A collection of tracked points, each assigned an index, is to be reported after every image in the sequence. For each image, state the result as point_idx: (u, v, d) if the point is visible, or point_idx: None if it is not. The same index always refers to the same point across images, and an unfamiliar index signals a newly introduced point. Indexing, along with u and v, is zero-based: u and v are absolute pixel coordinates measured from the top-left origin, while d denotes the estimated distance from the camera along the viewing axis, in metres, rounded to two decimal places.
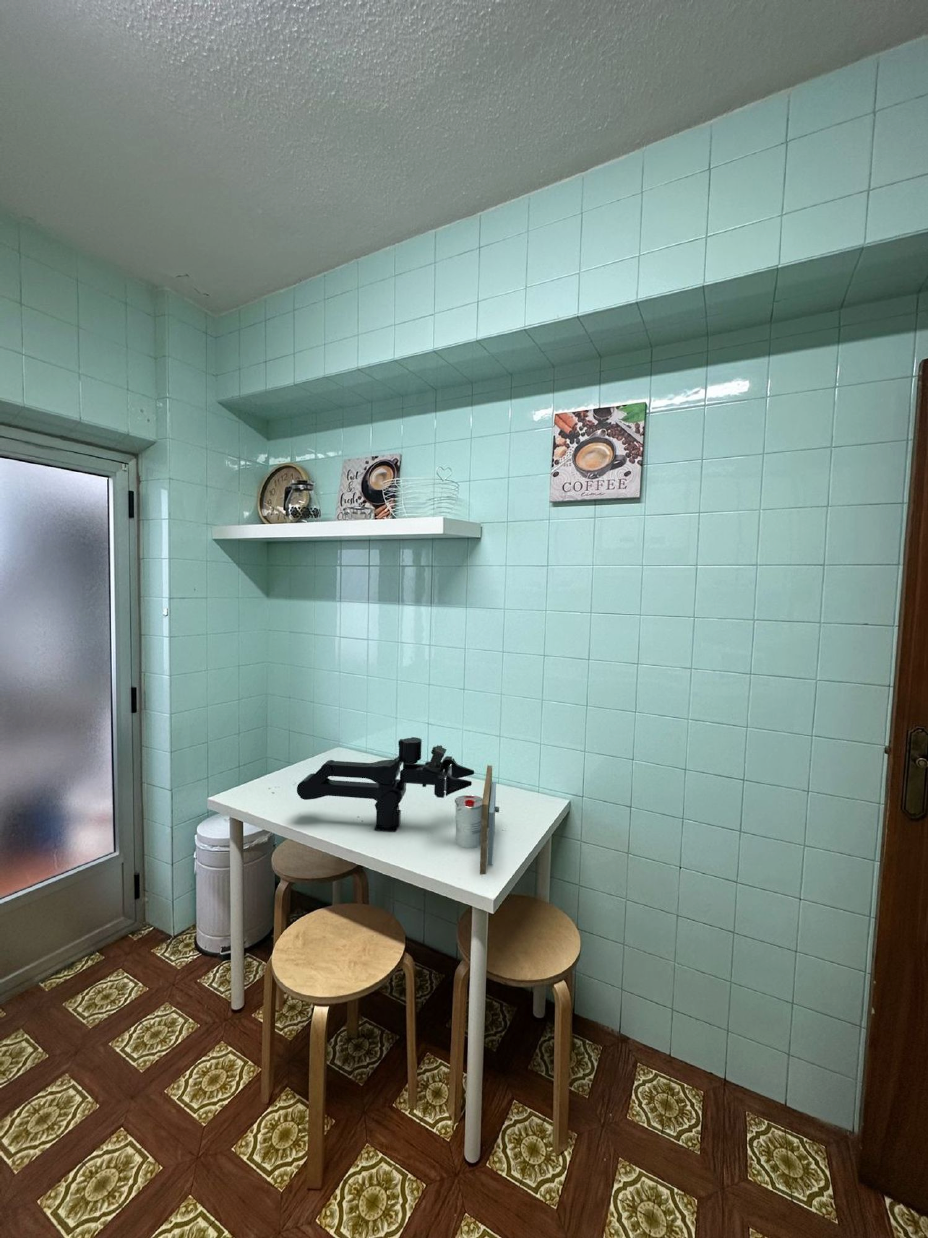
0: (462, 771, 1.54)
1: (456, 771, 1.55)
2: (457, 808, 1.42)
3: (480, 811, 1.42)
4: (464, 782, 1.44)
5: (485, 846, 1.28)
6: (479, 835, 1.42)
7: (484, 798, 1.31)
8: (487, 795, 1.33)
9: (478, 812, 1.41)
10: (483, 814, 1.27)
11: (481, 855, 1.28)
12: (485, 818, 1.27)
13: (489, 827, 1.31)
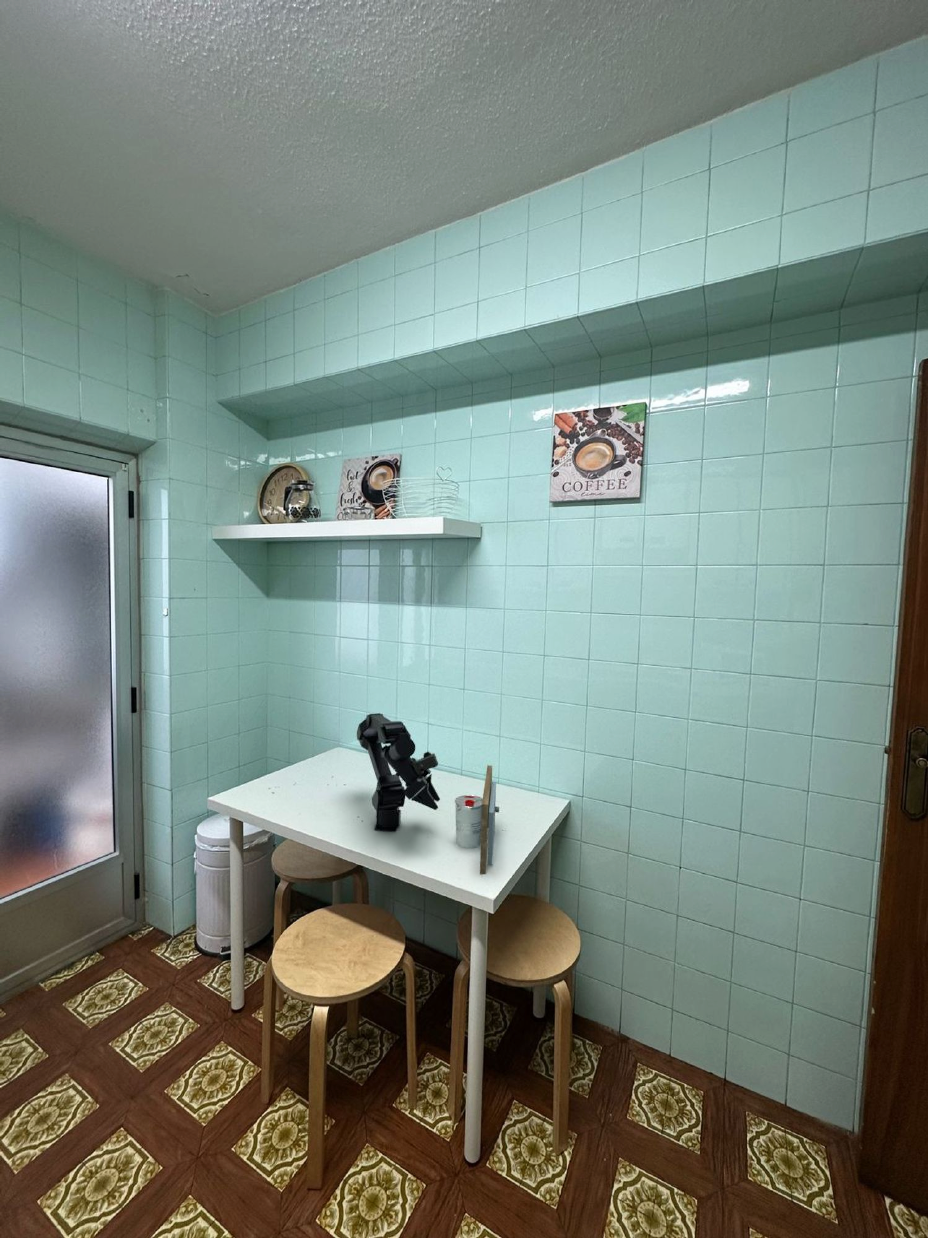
0: (431, 791, 1.50)
1: None
2: (457, 808, 1.42)
3: (480, 811, 1.42)
4: (433, 803, 1.40)
5: (485, 846, 1.28)
6: (479, 835, 1.42)
7: (484, 798, 1.31)
8: (487, 795, 1.33)
9: (478, 812, 1.41)
10: (483, 814, 1.27)
11: (481, 855, 1.28)
12: (485, 818, 1.27)
13: (489, 827, 1.31)
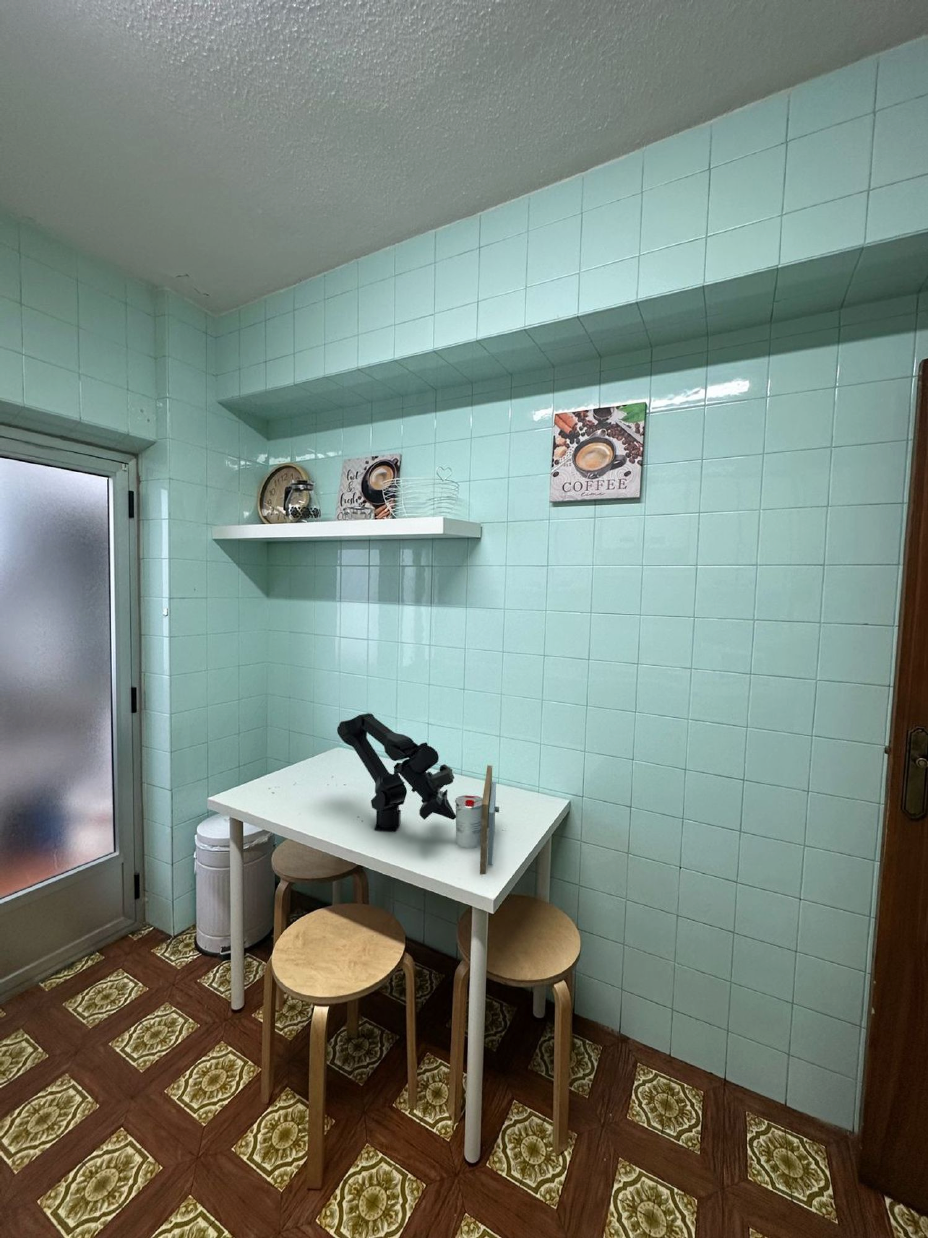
0: None
1: None
2: (457, 808, 1.42)
3: (480, 811, 1.42)
4: (450, 813, 1.43)
5: (485, 846, 1.28)
6: (479, 835, 1.42)
7: (484, 798, 1.31)
8: (487, 795, 1.33)
9: (478, 812, 1.41)
10: (483, 814, 1.27)
11: (481, 855, 1.28)
12: (485, 818, 1.27)
13: (489, 827, 1.31)
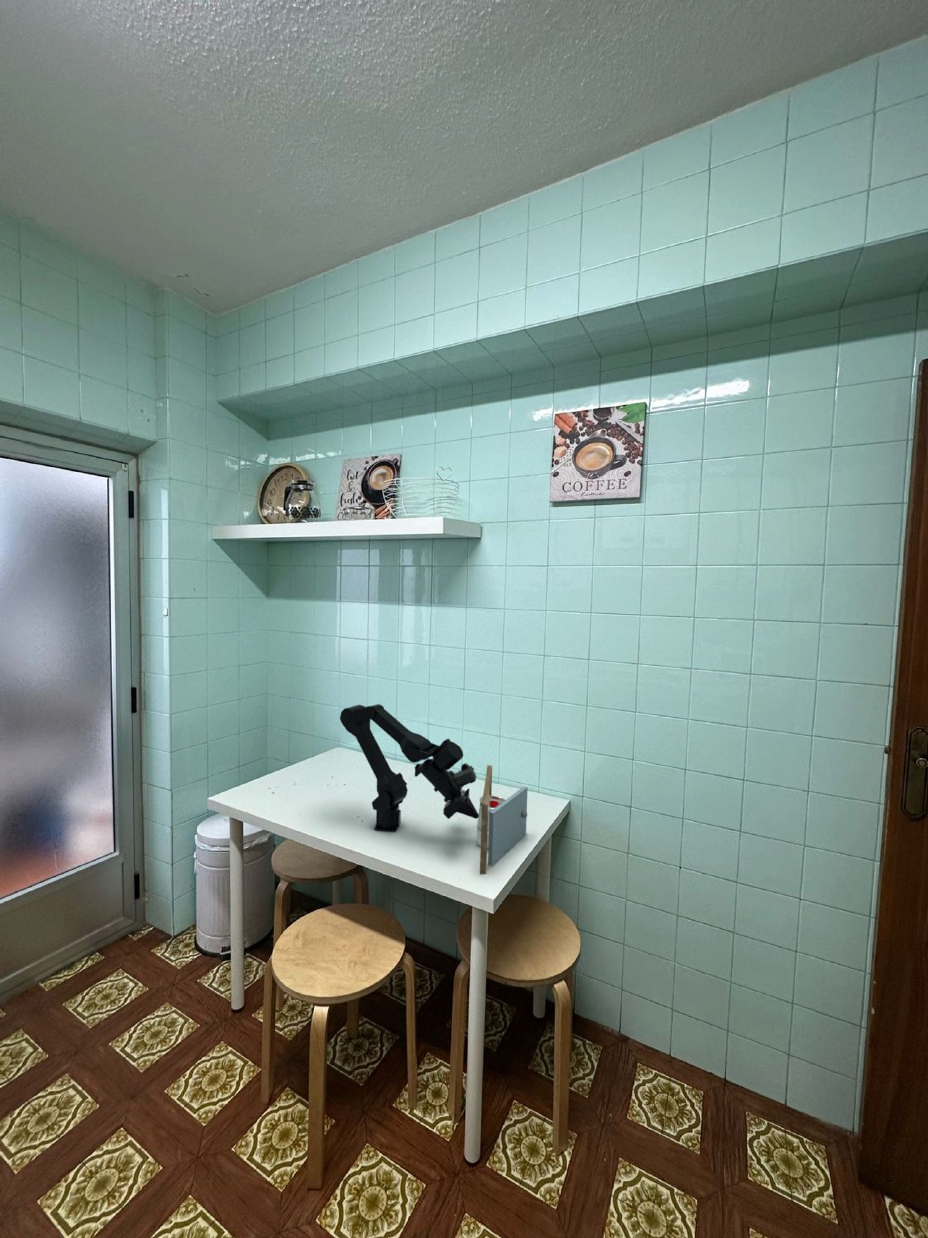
0: None
1: None
2: (481, 807, 1.41)
3: None
4: (473, 812, 1.43)
5: (485, 846, 1.28)
6: None
7: (484, 798, 1.31)
8: (487, 795, 1.33)
9: None
10: (483, 814, 1.27)
11: (481, 855, 1.28)
12: (485, 818, 1.27)
13: (489, 827, 1.32)
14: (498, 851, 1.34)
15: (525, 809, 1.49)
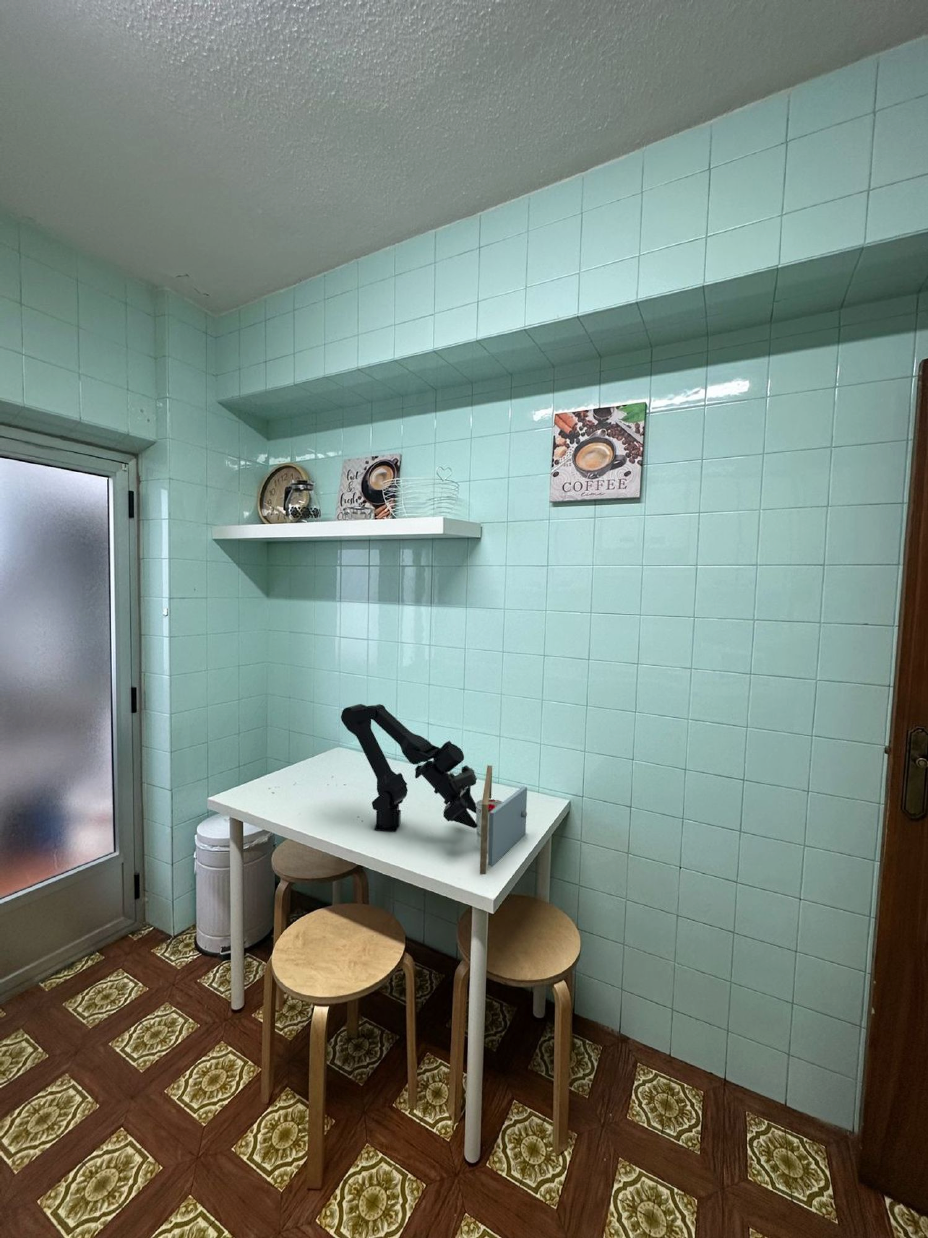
0: (470, 803, 1.49)
1: (465, 799, 1.49)
2: (481, 815, 1.38)
3: None
4: (472, 822, 1.39)
5: (485, 846, 1.28)
6: None
7: (484, 798, 1.31)
8: (487, 795, 1.33)
9: None
10: (483, 814, 1.27)
11: (481, 855, 1.28)
12: (485, 818, 1.27)
13: (489, 827, 1.32)
14: (498, 851, 1.34)
15: (525, 809, 1.49)
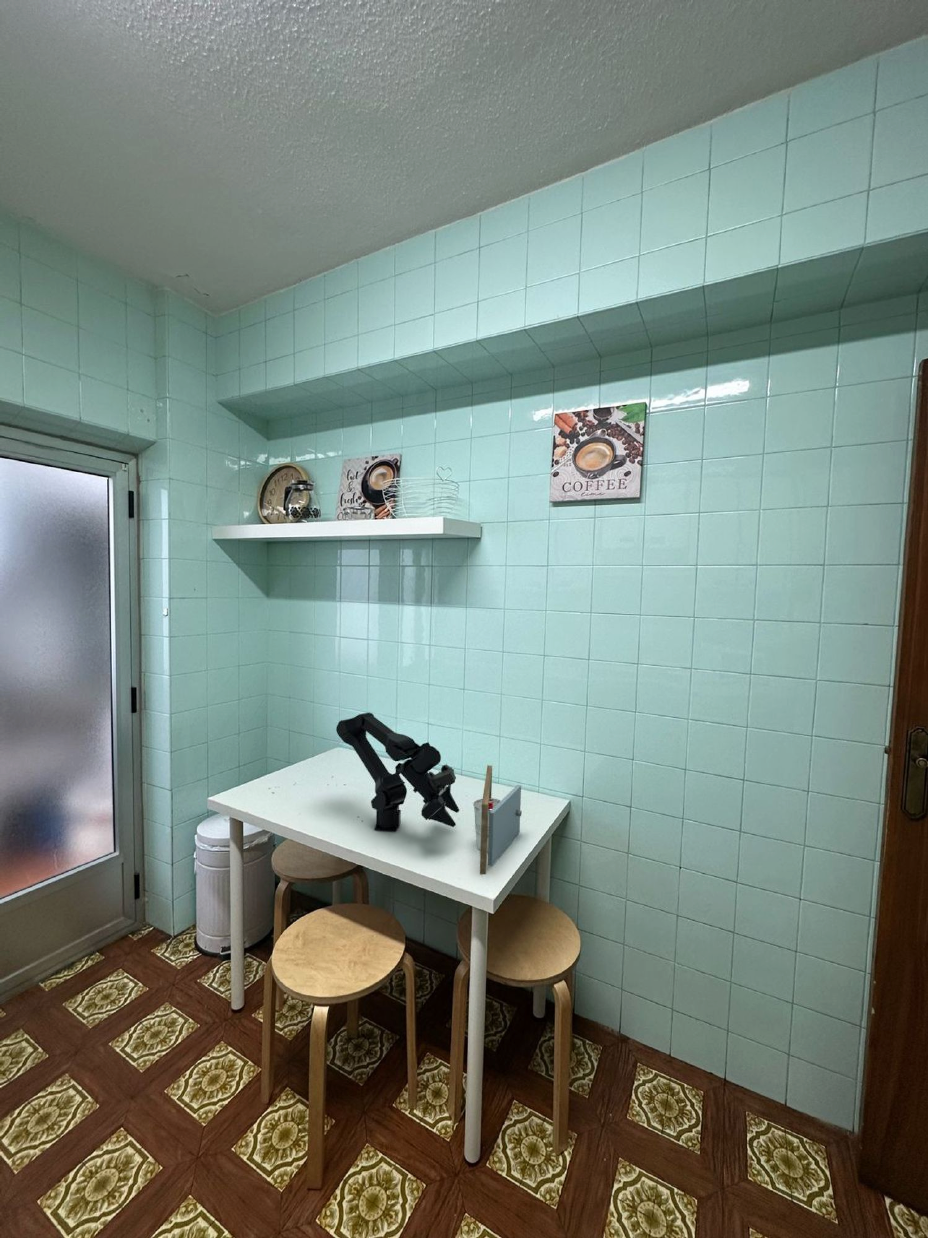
0: (450, 802, 1.49)
1: (445, 798, 1.50)
2: (479, 813, 1.39)
3: None
4: (450, 820, 1.39)
5: (485, 846, 1.28)
6: None
7: (484, 798, 1.31)
8: (487, 795, 1.33)
9: None
10: (483, 814, 1.27)
11: (481, 855, 1.28)
12: (485, 818, 1.27)
13: (489, 827, 1.31)
14: (497, 850, 1.35)
15: (519, 807, 1.50)
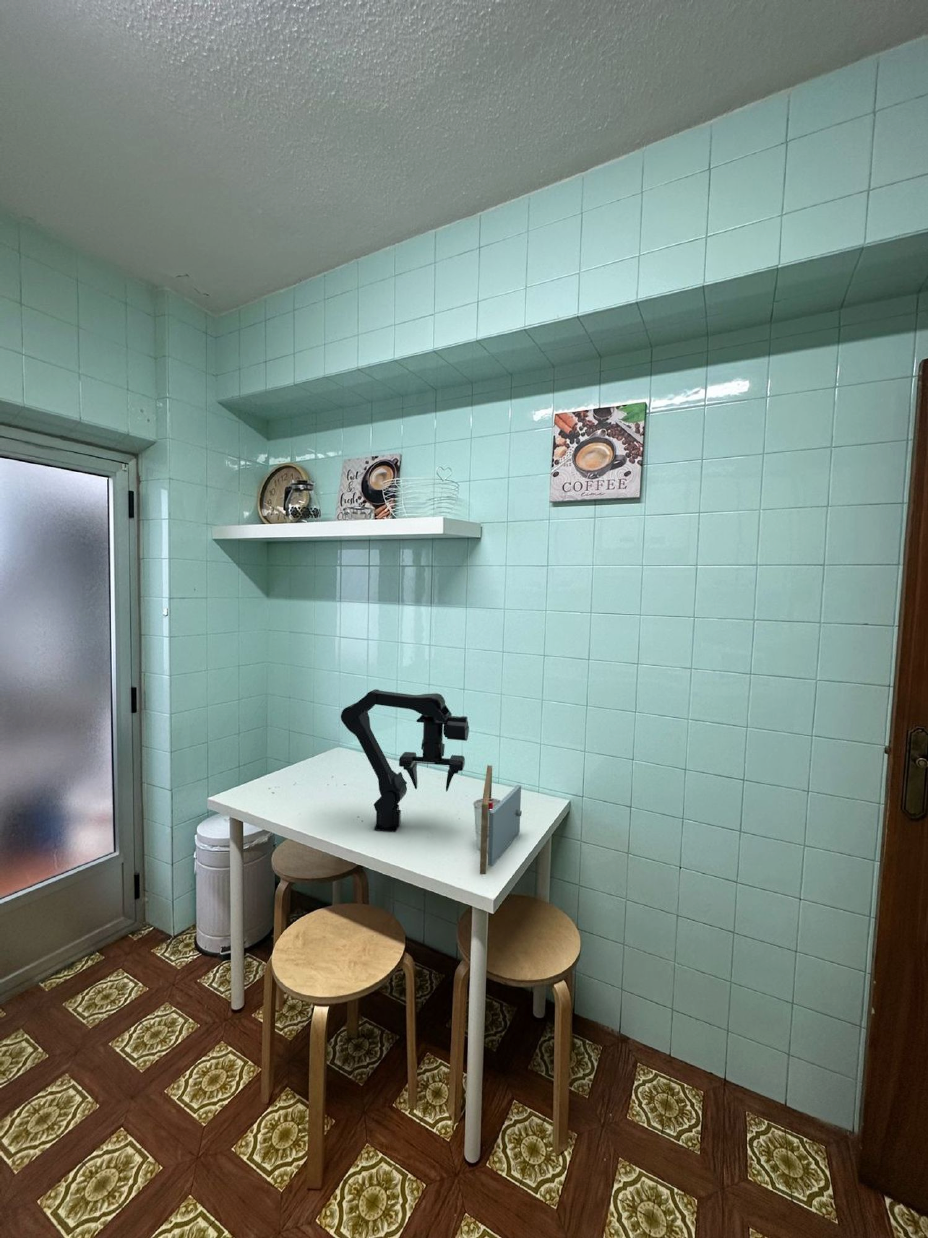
0: (416, 777, 1.50)
1: (415, 770, 1.50)
2: (479, 813, 1.39)
3: None
4: None
5: (485, 846, 1.28)
6: None
7: (484, 798, 1.31)
8: (487, 795, 1.33)
9: None
10: (483, 814, 1.27)
11: (481, 855, 1.28)
12: (485, 818, 1.27)
13: (489, 827, 1.31)
14: (497, 850, 1.35)
15: (519, 807, 1.50)
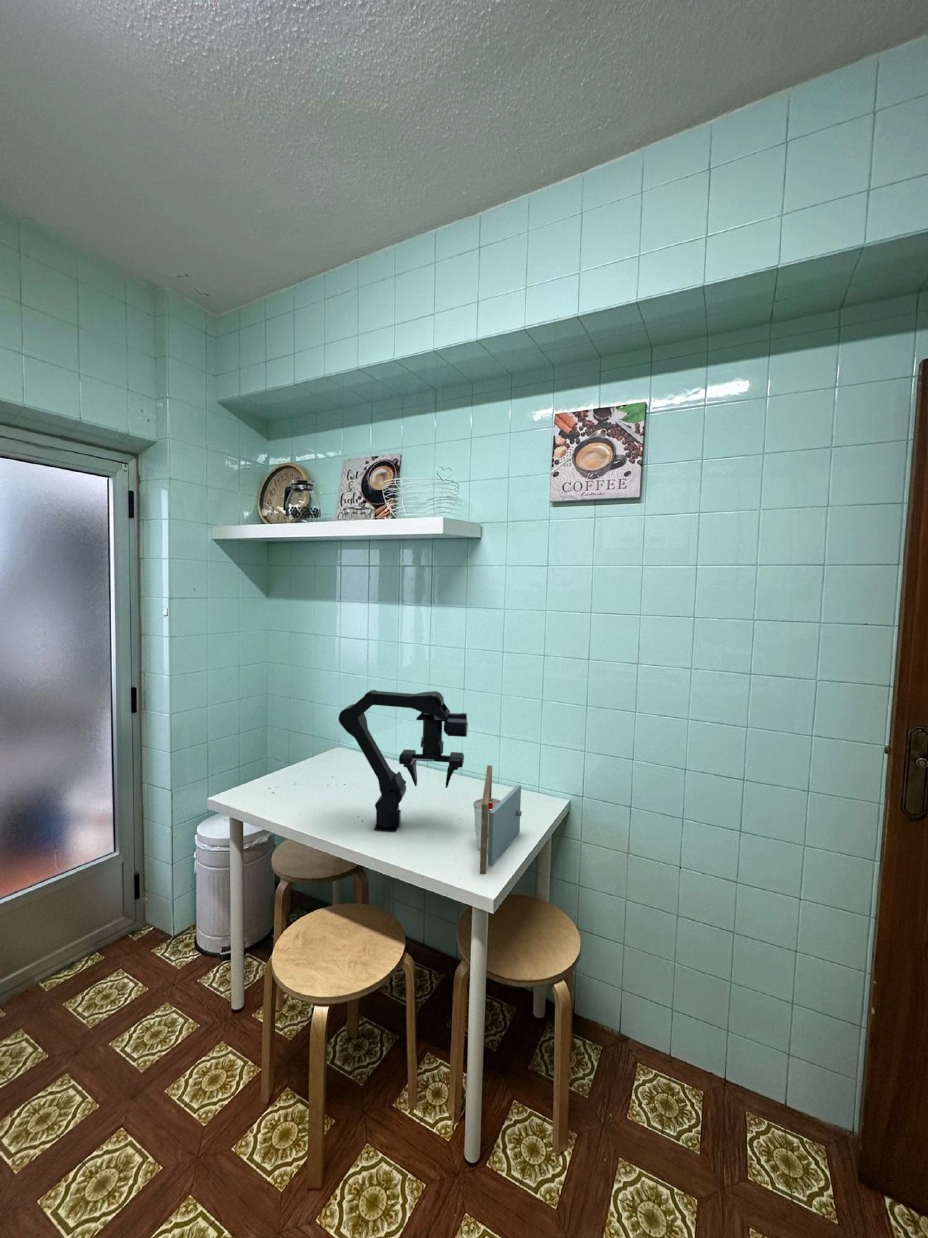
0: (416, 774, 1.51)
1: (415, 768, 1.51)
2: (479, 813, 1.39)
3: None
4: None
5: (485, 846, 1.28)
6: None
7: (484, 798, 1.31)
8: (487, 795, 1.33)
9: None
10: (483, 814, 1.27)
11: (481, 855, 1.28)
12: (485, 818, 1.27)
13: (489, 827, 1.31)
14: (497, 850, 1.35)
15: (519, 807, 1.50)
